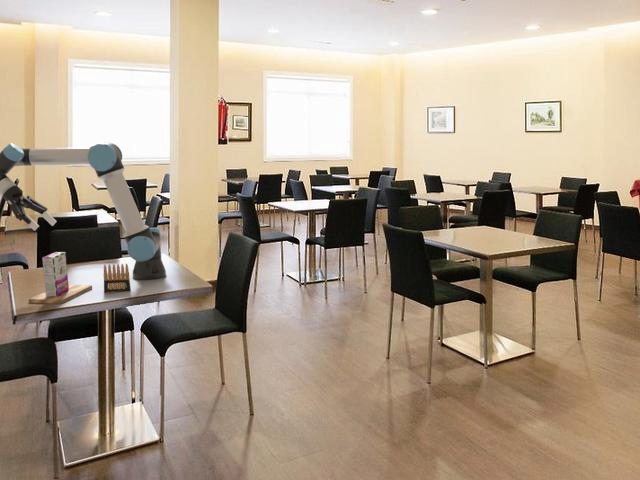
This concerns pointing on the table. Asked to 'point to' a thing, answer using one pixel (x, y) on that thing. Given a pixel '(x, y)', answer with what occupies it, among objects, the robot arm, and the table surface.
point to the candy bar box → (55, 274)
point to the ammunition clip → (116, 279)
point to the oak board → (68, 295)
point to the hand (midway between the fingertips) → (45, 226)
